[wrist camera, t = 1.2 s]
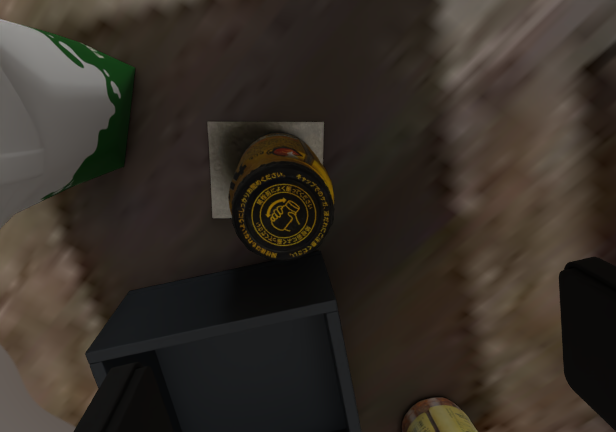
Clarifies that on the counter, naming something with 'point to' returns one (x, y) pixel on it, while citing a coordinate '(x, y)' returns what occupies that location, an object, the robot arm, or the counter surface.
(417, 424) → the sauce bottle
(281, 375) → the dark grey open box
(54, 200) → the counter surface
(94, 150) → the milk carton
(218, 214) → the condiment
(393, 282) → the counter surface
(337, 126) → the counter surface
